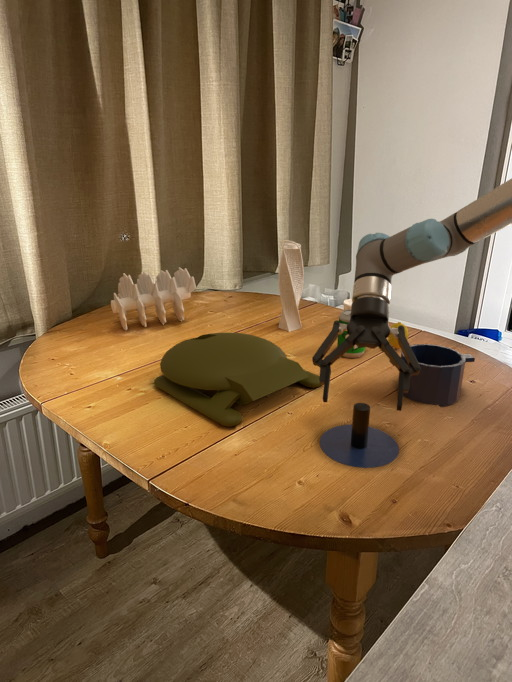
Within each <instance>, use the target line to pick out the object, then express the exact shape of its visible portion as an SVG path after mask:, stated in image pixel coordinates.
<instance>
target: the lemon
mask: <svg viewBox="0 0 512 682" xmlns="http://www.w3.org/2000/svg"><path fill="white" fill-rule="evenodd" d="M400 325H403V326H404V328H405V337H406V339H407V341H408V342H409V329H408V327H407V325H405V324H404V323H402V322H401V321H397V322H395V323H393V324H392V325H391V326H389V327H390V328H398V327H399V326H400ZM387 340H388V341H389V344H390V345H391V346H392V347H393V348H394V349H395V350H399V349H401V348H400V346H399V343H398V339H395V338H394V337H393V335H391V334H390V335H389V336H388V337H387Z"/></svg>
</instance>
